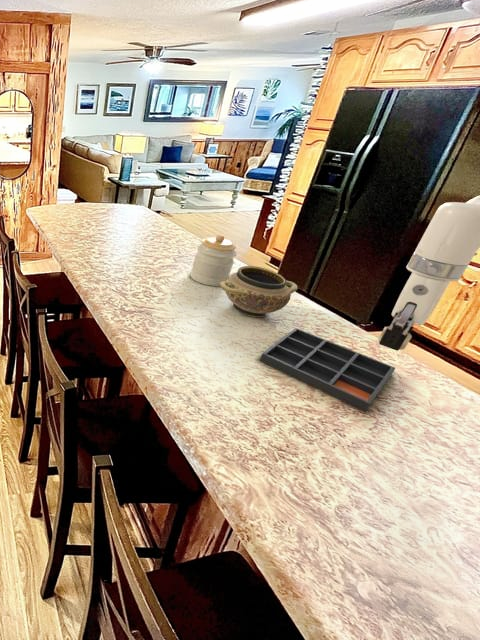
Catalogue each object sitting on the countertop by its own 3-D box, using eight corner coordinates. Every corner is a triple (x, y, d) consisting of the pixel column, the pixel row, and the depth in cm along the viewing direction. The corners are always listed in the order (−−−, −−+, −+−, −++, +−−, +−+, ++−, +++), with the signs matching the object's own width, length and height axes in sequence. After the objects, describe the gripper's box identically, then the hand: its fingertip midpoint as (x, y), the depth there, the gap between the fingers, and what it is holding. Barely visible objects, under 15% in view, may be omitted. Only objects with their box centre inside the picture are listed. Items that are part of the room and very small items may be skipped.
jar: (231, 289, 139) (246, 243, 132) (192, 283, 142) (204, 238, 135) (222, 274, 151) (236, 231, 143) (187, 270, 154) (198, 227, 146)
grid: (391, 375, 98) (395, 367, 96) (365, 412, 86) (370, 404, 85) (292, 334, 113) (295, 327, 112) (259, 360, 102) (262, 353, 101)
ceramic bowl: (220, 327, 121) (241, 292, 111) (197, 289, 134) (214, 255, 124) (296, 329, 121) (324, 294, 112) (266, 291, 135) (288, 257, 125)
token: (407, 345, 84) (414, 333, 82) (402, 352, 81) (409, 340, 80) (380, 335, 87) (387, 324, 85) (375, 341, 84) (381, 330, 83)
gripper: (455, 284, 69) (405, 366, 77) (470, 263, 78) (423, 339, 86) (399, 269, 74) (357, 347, 82) (419, 252, 83) (380, 323, 91)
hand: (392, 342), depth 84 cm, fingers closed on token, 4 cm apart
